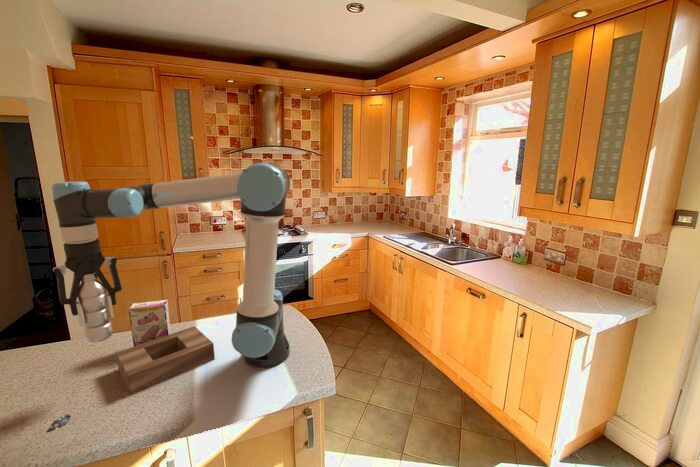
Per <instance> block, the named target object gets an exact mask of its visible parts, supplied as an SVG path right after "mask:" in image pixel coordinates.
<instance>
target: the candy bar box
mask: <svg viewBox="0 0 700 467" xmlns="http://www.w3.org/2000/svg"><path fill="white" fill-rule="evenodd" d="M128 315H129V322H130V329H131V337H132V344H133V347H134V346H137V345H140V344H143V343H146V342H149V341H152V340H155V339H158V338H161V337H164V336H167V335H170V334H172V330H171V322H170V312H169V302H168V299H161V300H154V301H146V302H145V301H144V302H134V303H131V304H130V306H129V307H128Z"/></svg>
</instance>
